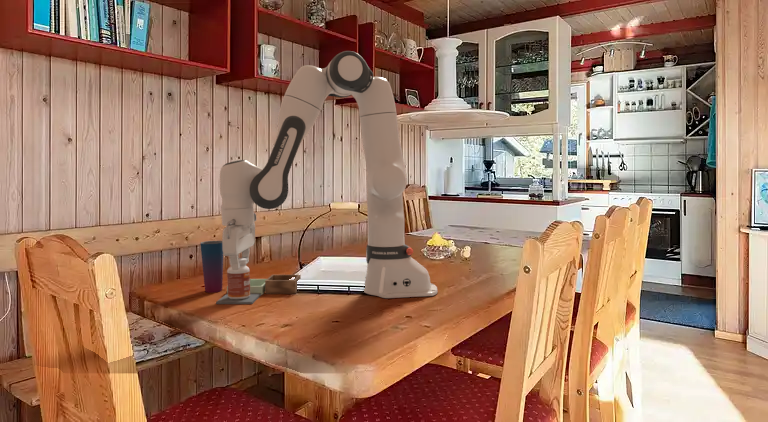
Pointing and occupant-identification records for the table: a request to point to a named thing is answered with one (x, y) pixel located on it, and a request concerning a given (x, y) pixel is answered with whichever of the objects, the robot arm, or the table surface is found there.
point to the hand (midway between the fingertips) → (240, 266)
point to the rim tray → (256, 286)
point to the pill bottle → (239, 281)
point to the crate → (281, 284)
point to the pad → (249, 300)
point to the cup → (212, 265)
